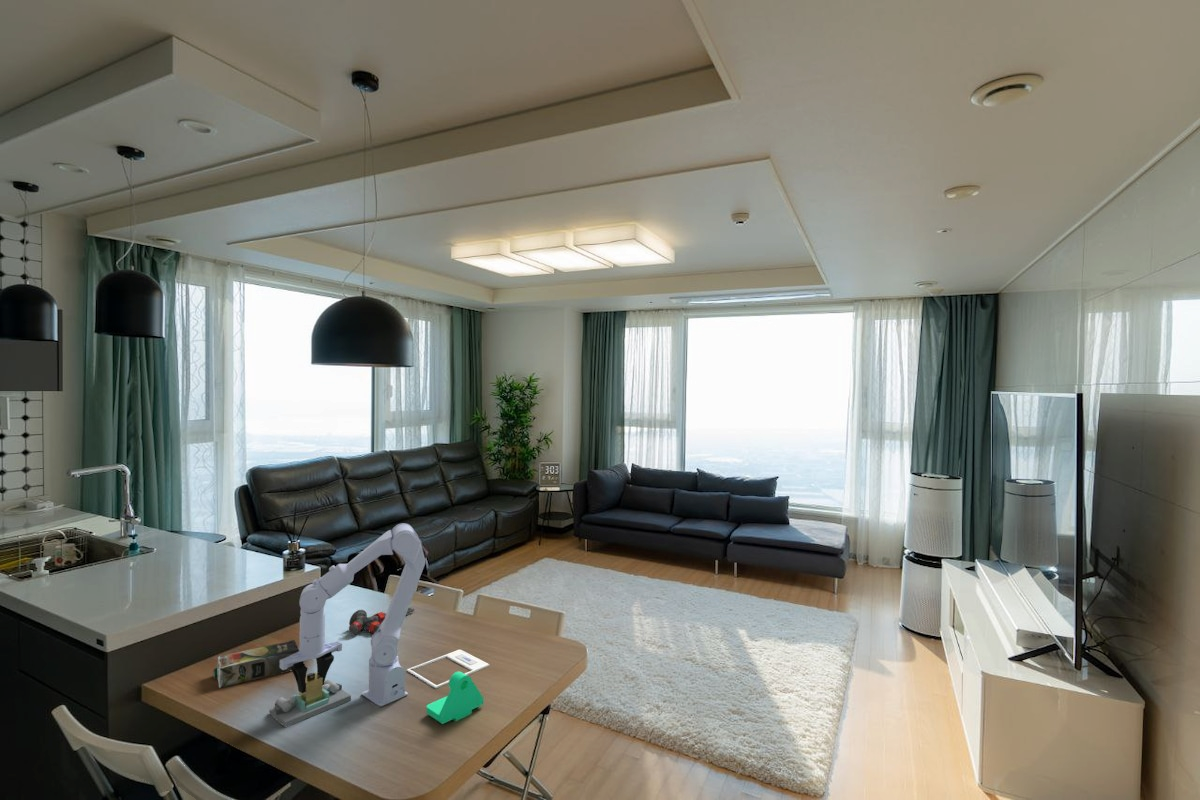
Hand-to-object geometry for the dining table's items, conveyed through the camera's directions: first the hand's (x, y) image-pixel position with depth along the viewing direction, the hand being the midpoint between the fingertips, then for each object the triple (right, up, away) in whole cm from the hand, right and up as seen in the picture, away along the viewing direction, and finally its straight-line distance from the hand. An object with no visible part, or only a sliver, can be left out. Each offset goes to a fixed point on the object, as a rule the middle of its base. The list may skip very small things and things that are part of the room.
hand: (311, 687), depth 143 cm
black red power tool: (-1, -6, +52) cm, 52 cm away
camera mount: (+36, -6, -1) cm, 37 cm away
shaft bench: (0, -5, 0) cm, 5 cm away
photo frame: (+29, -6, +22) cm, 37 cm away
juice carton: (-24, -5, +18) cm, 30 cm away
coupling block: (0, -4, 0) cm, 4 cm away
